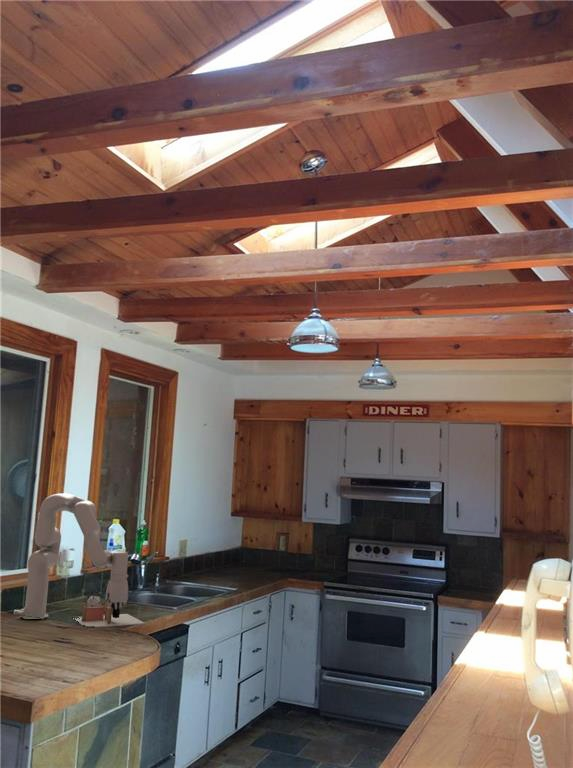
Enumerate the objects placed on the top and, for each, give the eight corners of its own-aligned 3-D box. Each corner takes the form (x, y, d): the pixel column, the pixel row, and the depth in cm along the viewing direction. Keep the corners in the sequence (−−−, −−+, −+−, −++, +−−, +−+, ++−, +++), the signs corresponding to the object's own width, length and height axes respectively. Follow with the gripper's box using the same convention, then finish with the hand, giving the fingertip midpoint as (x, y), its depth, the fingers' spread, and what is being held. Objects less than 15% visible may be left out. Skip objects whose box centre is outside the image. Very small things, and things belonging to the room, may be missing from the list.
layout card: (86, 628, 302) (86, 627, 302) (71, 618, 322) (71, 617, 322) (144, 623, 317) (144, 622, 317) (127, 614, 337) (127, 613, 337)
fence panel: (105, 619, 319) (106, 604, 320) (108, 619, 320) (110, 604, 321) (107, 623, 310) (108, 608, 311) (111, 623, 310) (112, 608, 311)
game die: (95, 618, 343) (108, 601, 347) (92, 615, 335) (105, 598, 340) (82, 608, 345) (95, 591, 349) (78, 604, 337) (92, 588, 342)
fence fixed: (82, 621, 314) (83, 606, 315) (80, 620, 315) (82, 605, 316) (109, 619, 321) (110, 604, 322) (108, 618, 322) (109, 603, 324)
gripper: (126, 575, 327) (124, 614, 324) (100, 578, 316) (97, 618, 313) (136, 577, 322) (133, 616, 319) (109, 579, 311) (106, 620, 308)
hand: (115, 617), depth 316 cm, fingers closed
